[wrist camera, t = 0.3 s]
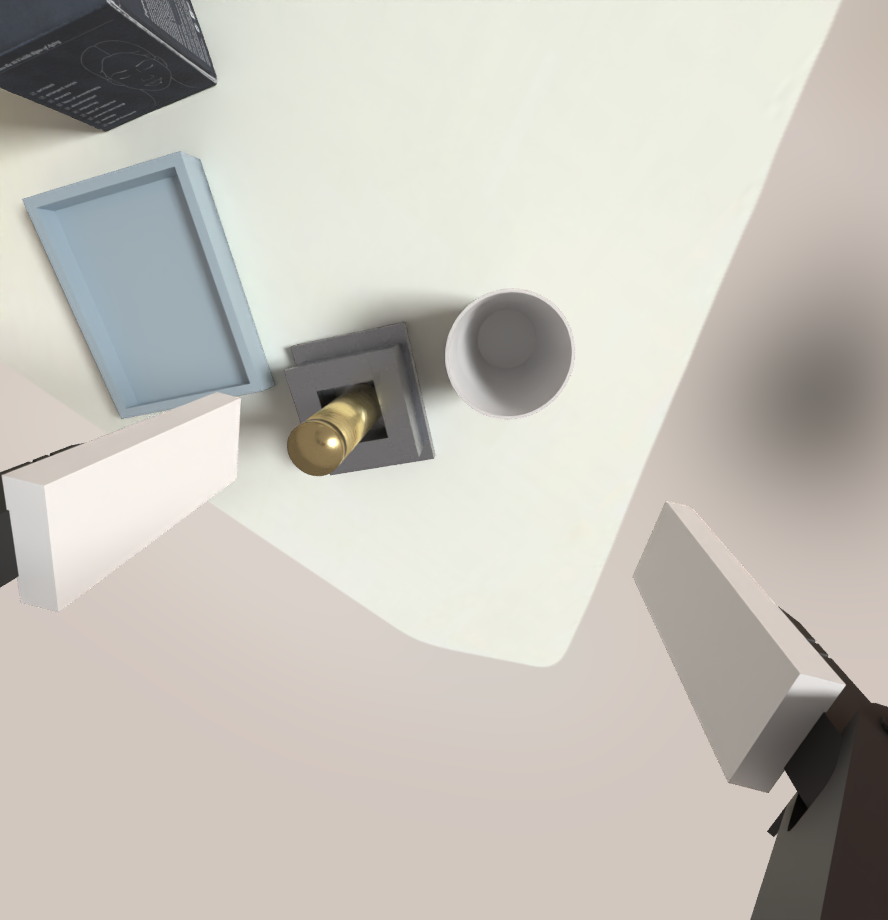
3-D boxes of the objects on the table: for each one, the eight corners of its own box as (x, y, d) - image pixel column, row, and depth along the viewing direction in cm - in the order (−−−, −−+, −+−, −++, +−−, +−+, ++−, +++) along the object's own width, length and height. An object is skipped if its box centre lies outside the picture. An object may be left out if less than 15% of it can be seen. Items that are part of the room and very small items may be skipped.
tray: (50, 204, 39) (22, 199, 36) (200, 159, 36) (179, 151, 34) (140, 411, 45) (121, 418, 42) (274, 385, 42) (261, 391, 40)
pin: (339, 388, 41) (279, 428, 30) (378, 380, 40) (332, 418, 29) (350, 427, 42) (297, 479, 31) (388, 420, 41) (348, 471, 30)
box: (183, -25, 33) (50, -156, 23) (222, 85, 35) (115, 8, 25) (60, 33, 35) (-111, -65, 25) (103, 134, 37) (-38, 81, 27)
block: (295, 345, 41) (272, 352, 37) (405, 321, 39) (394, 326, 35) (333, 471, 45) (316, 490, 41) (435, 454, 43) (428, 473, 39)
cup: (496, 405, 41) (495, 442, 32) (437, 330, 39) (419, 346, 30) (575, 347, 38) (600, 368, 29) (517, 264, 37) (524, 258, 27)
